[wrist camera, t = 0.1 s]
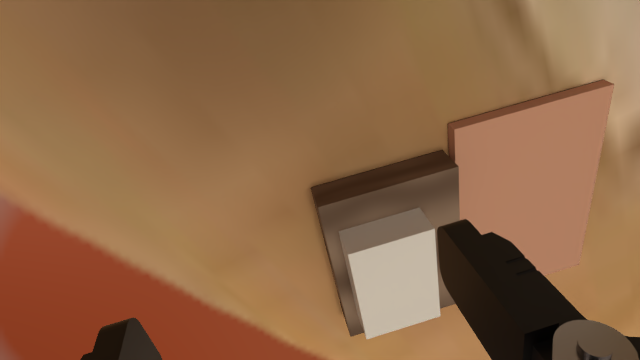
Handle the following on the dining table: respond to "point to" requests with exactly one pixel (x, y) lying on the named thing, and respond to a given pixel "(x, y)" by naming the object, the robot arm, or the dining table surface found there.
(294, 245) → the dining table surface
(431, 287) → the cream tile
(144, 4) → the dining table surface
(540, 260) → the terracotta mat
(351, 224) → the walnut deck
